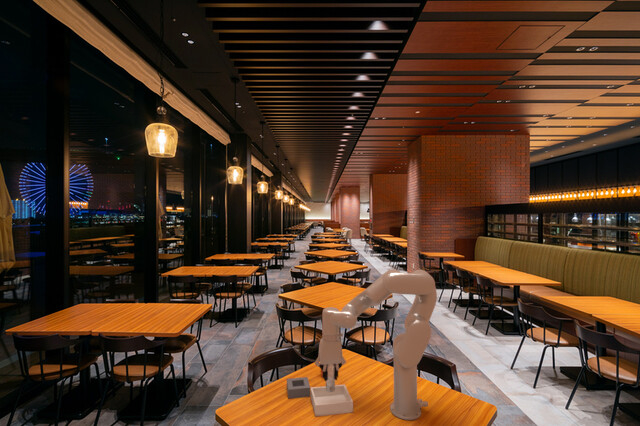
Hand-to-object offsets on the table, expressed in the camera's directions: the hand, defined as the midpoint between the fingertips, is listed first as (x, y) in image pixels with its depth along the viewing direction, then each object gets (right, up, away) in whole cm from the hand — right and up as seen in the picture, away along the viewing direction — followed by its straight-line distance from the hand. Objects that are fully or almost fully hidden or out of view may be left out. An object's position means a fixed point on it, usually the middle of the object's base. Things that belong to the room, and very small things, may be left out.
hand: (330, 378), depth 137 cm
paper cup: (-1, -12, +25) cm, 28 cm away
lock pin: (0, -5, 0) cm, 5 cm away
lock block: (-15, -12, +10) cm, 21 cm away
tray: (0, -11, 0) cm, 11 cm away
